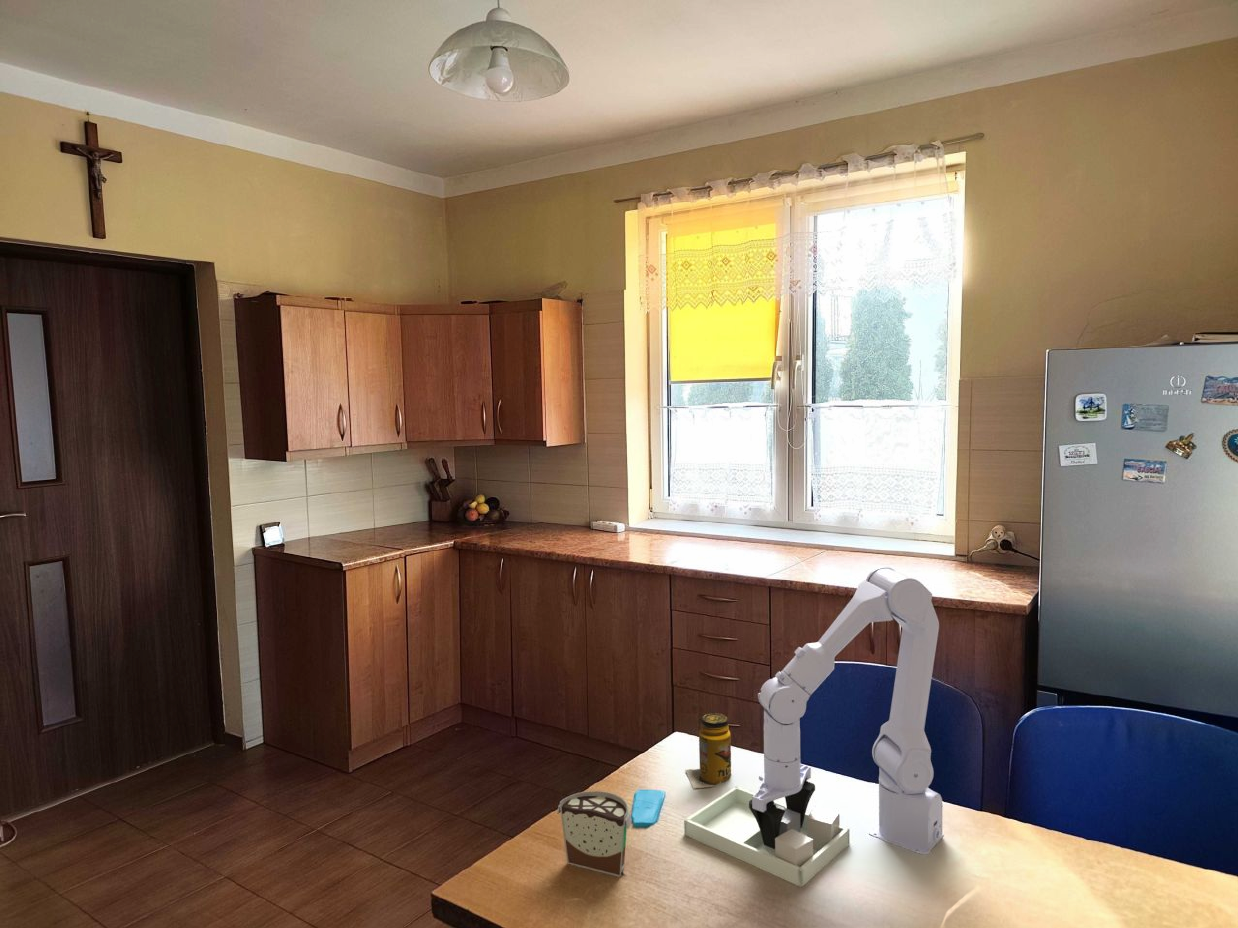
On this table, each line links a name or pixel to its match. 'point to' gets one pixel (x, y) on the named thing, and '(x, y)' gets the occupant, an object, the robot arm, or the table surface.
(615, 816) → the food container
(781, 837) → the white block
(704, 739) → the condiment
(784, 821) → the grey rectangular block
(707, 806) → the tray
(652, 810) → the sponge
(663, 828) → the table surface
